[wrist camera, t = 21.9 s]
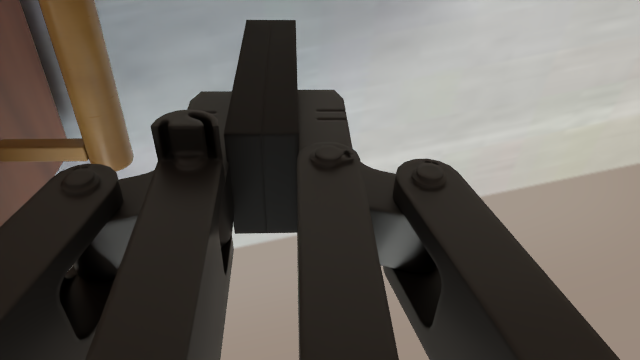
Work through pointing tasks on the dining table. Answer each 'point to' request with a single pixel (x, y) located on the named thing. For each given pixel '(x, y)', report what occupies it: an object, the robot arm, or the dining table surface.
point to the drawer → (38, 104)
